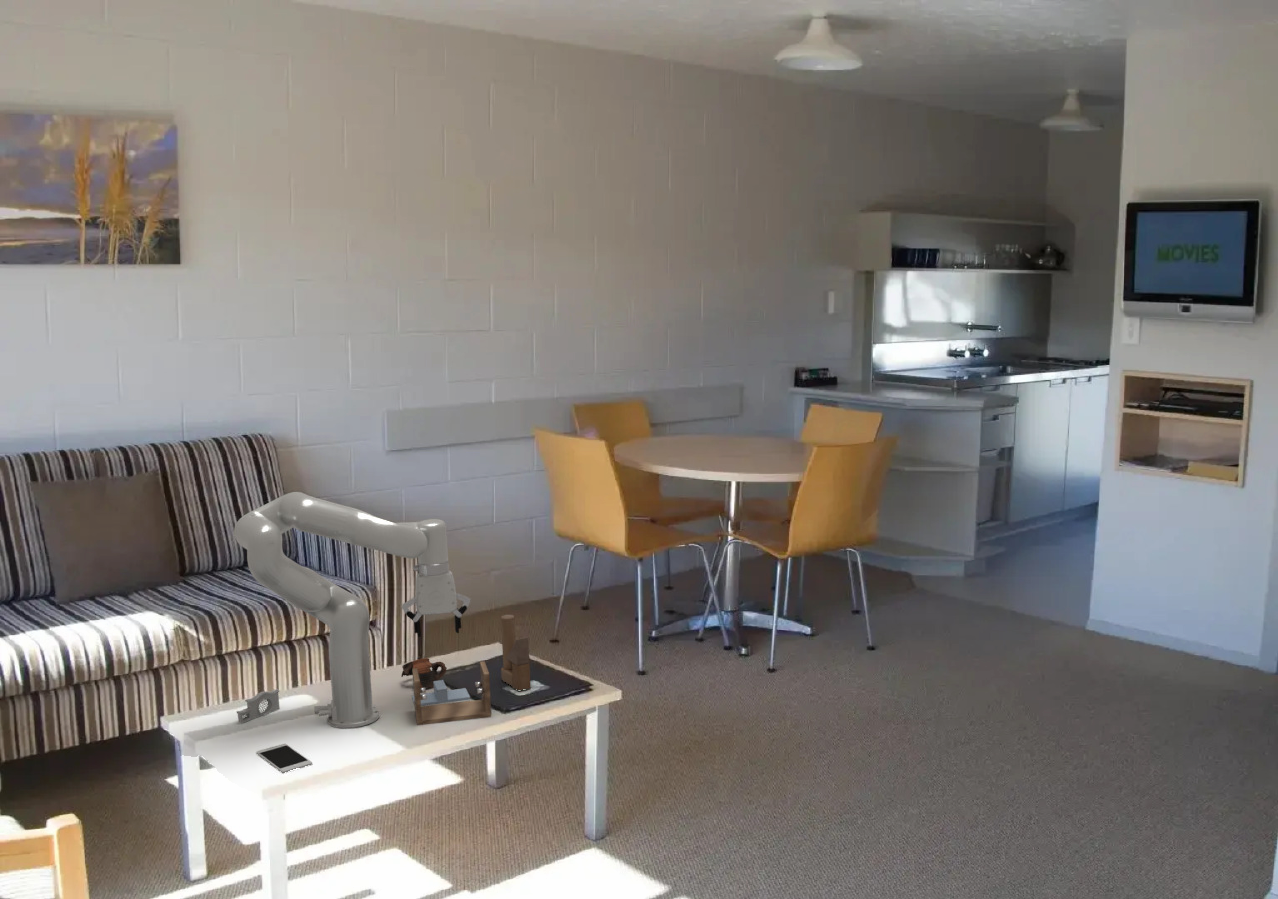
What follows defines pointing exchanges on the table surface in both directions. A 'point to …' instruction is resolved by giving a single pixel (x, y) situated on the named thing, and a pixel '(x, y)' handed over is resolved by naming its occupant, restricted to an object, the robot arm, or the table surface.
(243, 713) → the garden wall model
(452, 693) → the shelf board
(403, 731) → the table surface
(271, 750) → the smartphone
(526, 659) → the wooden block
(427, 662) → the pottery mug
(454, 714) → the shelf unit
